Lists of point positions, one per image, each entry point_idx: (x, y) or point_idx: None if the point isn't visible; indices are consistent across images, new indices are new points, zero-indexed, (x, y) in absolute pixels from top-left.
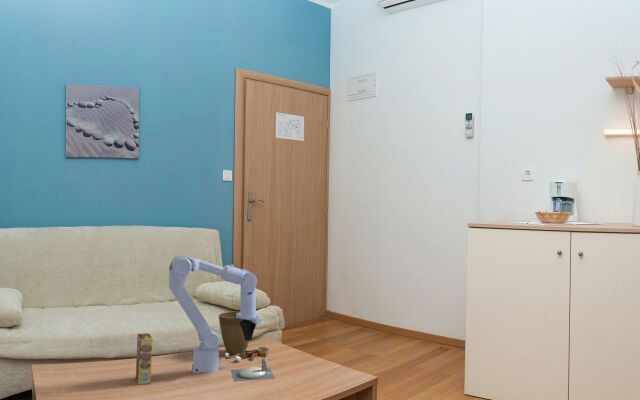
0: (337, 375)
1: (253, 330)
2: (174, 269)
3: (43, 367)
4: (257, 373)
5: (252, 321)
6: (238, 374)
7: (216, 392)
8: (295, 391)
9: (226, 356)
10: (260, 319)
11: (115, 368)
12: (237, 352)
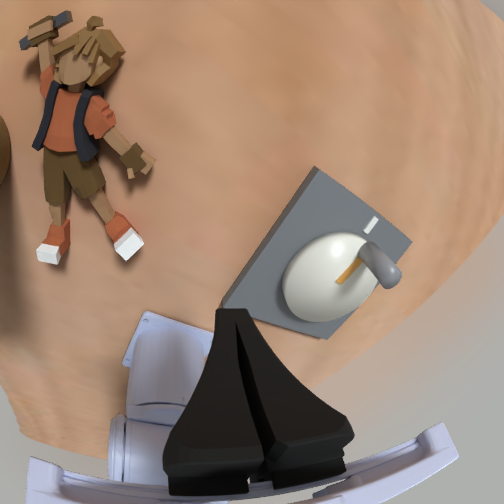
0: (492, 68)
1: (284, 370)
2: None
3: (34, 438)
4: (367, 285)
5: (355, 470)
6: (289, 310)
7: (327, 371)
8: (467, 242)
9: (58, 257)
10: (453, 450)
11: (55, 417)
12: (5, 168)
